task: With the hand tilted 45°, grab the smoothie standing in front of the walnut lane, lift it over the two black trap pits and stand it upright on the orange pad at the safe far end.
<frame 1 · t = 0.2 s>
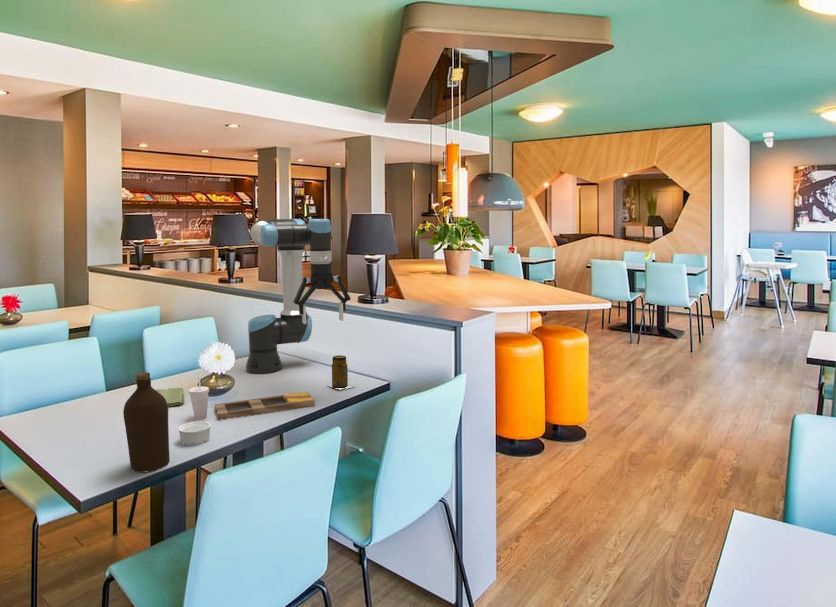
hand: (323, 321, 203), 28 cm above the table, tool pointing down, fingers open, 13 cm apart
condiment: (340, 387, 219), on the table
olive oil: (150, 465, 150), on the table
washcloth: (165, 402, 203), on the table
ramekin: (195, 441, 167), on the table
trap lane: (265, 407, 195), on the table
smoothie: (200, 417, 186), on the table
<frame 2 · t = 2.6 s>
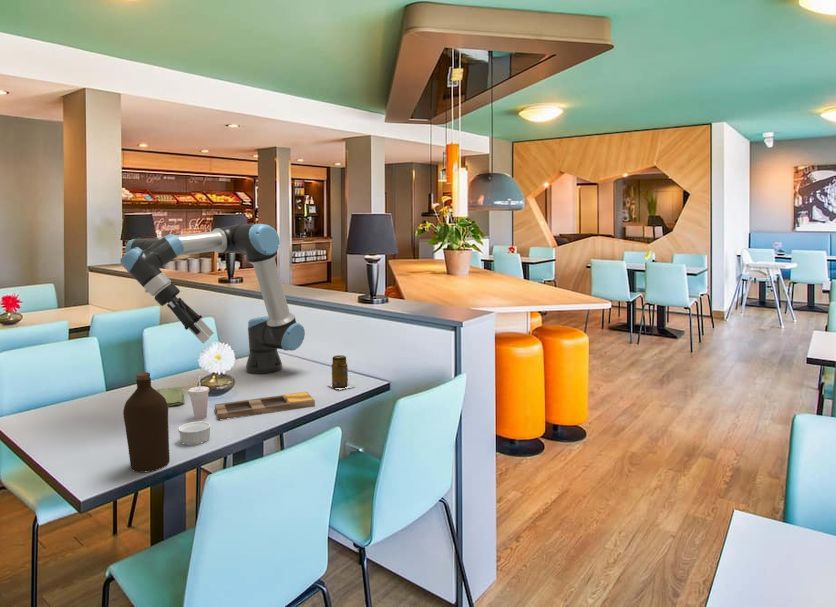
hand: (209, 338, 187), 26 cm above the table, tool tilted 40°, fingers open, 13 cm apart
nothing on the table moved.
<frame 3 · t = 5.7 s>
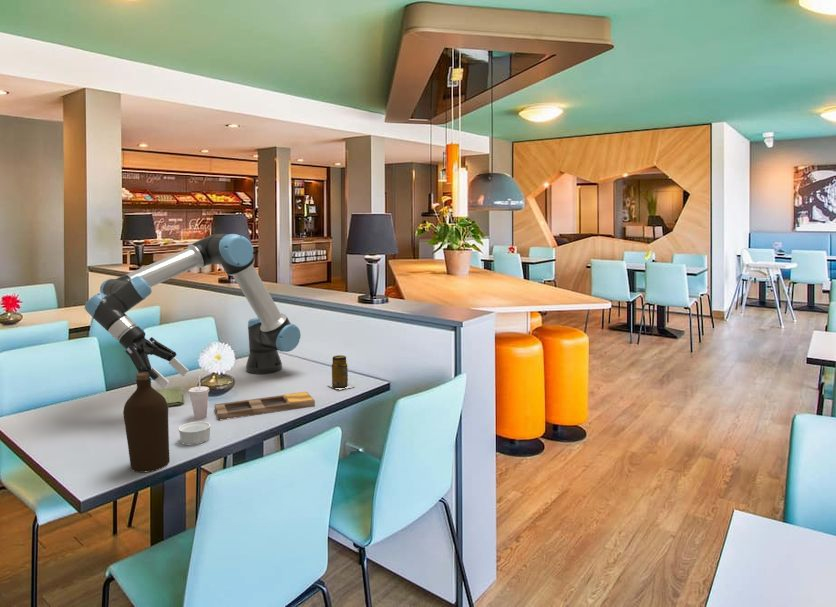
hand: (176, 378, 184), 13 cm above the table, tool tilted 45°, fingers open, 13 cm apart
nothing on the table moved.
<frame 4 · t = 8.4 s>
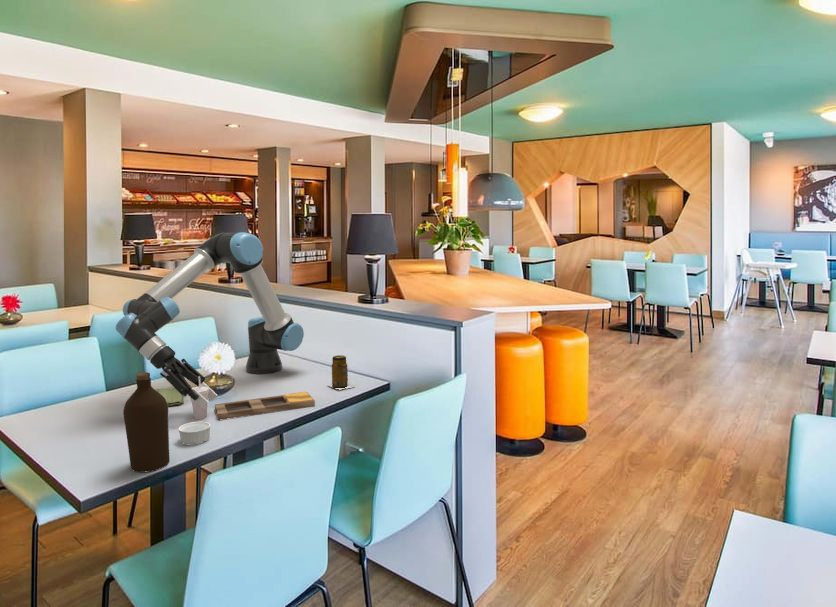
hand: (210, 401, 185), 5 cm above the table, tool tilted 45°, fingers closed on smoothie, 6 cm apart
smoothie: (200, 417, 186), on the table, touching gripper
everything else where it was.
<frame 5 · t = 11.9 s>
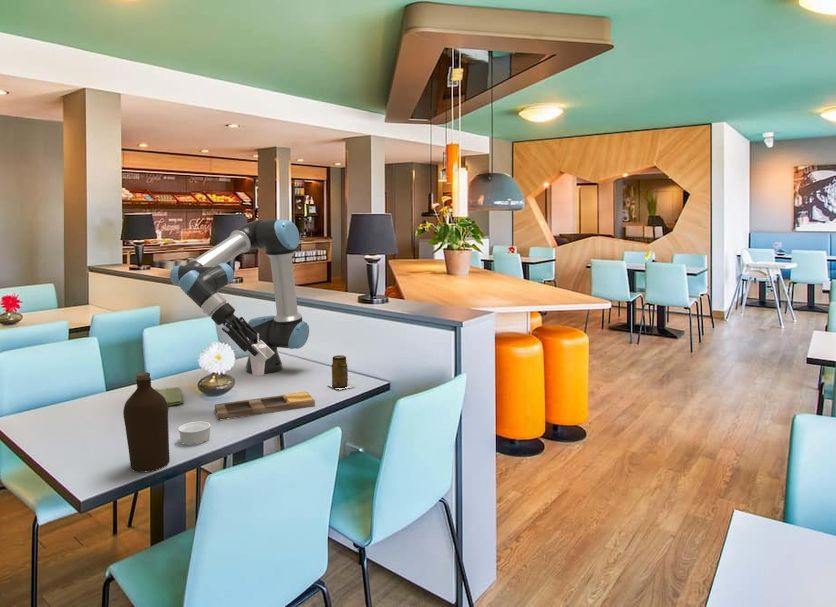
hand: (268, 358, 189), 18 cm above the table, tool tilted 45°, fingers closed on smoothie, 6 cm apart
smoothie: (258, 374, 190), point 13 cm above the table, touching gripper
everything else where it was.
when the fingers open (9 cm above the table, at t = 15.6 s): smoothie drops 1 cm, resting on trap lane.
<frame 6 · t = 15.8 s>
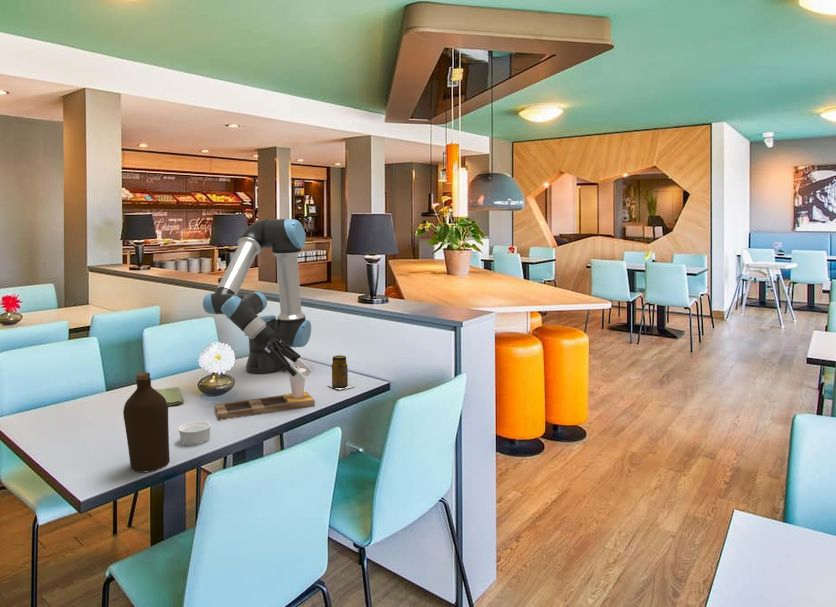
hand: (306, 377, 198), 10 cm above the table, tool tilted 45°, fingers open, 9 cm apart
smoothie: (298, 397, 199), point 2 cm above the table, touching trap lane
everything else where it was.
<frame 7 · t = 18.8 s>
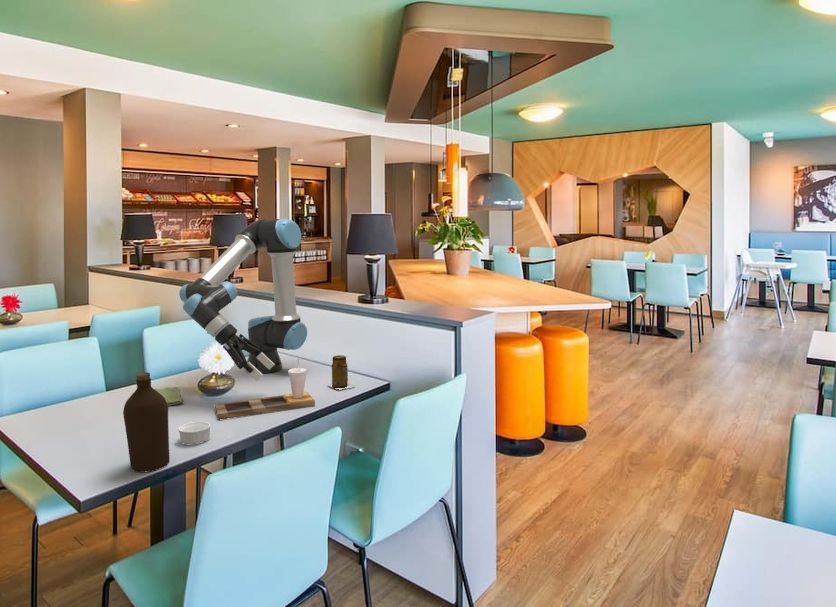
hand: (266, 372, 199), 11 cm above the table, tool tilted 45°, fingers open, 13 cm apart
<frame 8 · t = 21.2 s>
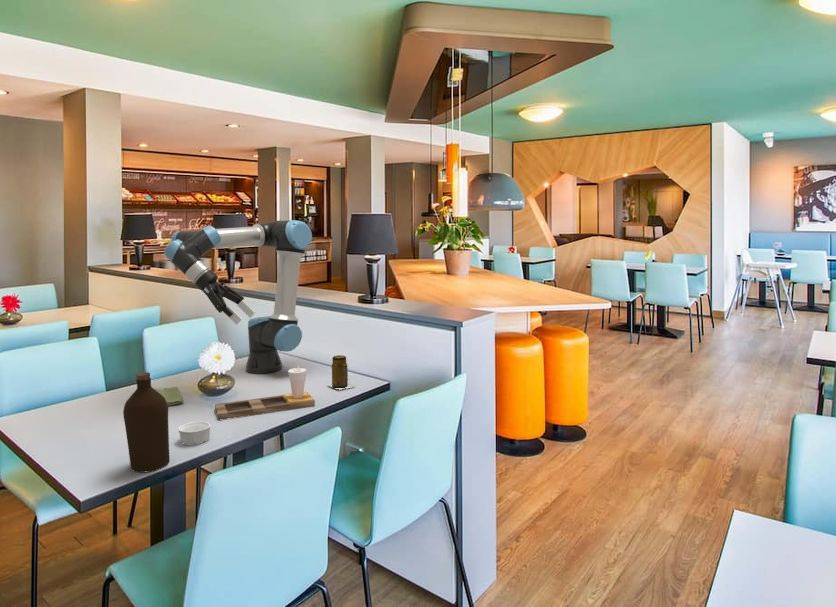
hand: (246, 318, 201), 30 cm above the table, tool tilted 45°, fingers open, 13 cm apart
at the end: smoothie inside the target area on the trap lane (0.3 cm from its centre), point 2.1 cm above the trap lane's base; smoothie tilted 1°; the gripper is holding nothing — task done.
